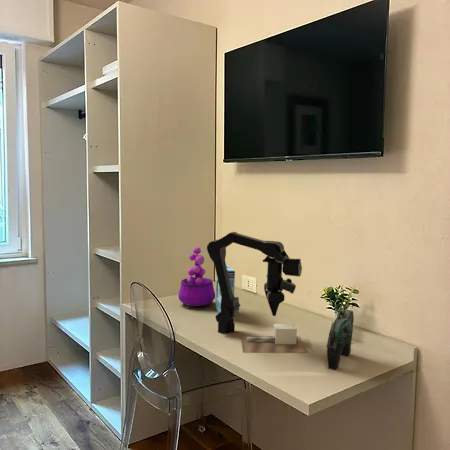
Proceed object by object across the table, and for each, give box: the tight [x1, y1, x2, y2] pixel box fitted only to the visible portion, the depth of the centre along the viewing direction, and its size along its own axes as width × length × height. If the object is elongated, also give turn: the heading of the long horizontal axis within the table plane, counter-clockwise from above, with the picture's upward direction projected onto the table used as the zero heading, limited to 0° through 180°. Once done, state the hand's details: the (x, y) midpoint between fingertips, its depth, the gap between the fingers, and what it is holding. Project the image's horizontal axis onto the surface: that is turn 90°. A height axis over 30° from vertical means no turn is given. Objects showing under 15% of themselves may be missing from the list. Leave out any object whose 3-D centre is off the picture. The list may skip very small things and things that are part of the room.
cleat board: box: [240, 335, 309, 354], centre depth 177 cm, size 24×18×3 cm
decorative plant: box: [178, 246, 216, 307], centre depth 235 cm, size 19×18×30 cm
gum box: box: [215, 263, 236, 320], centre depth 220 cm, size 20×5×23 cm, turn 13°
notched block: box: [273, 323, 298, 344], centre depth 180 cm, size 8×6×6 cm
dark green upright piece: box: [326, 303, 355, 371], centre depth 164 cm, size 20×6×20 cm, turn 150°
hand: (272, 312), depth 184 cm, fingers open, 9 cm apart
